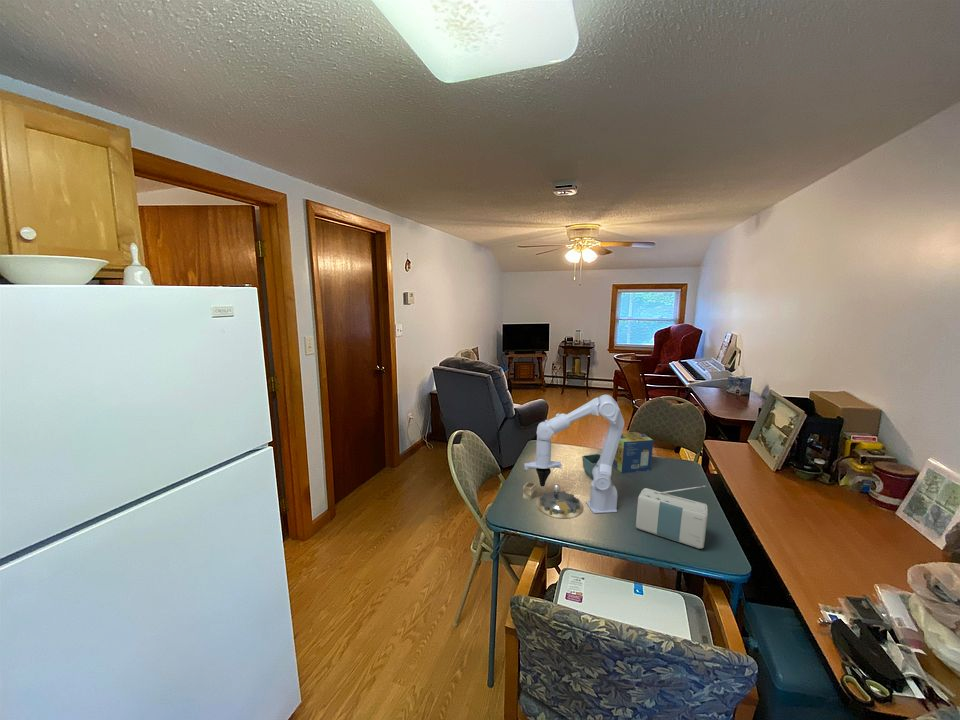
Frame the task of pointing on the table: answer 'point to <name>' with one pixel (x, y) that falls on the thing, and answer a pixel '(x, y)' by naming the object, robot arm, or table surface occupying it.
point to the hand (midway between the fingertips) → (542, 485)
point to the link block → (529, 490)
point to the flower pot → (590, 463)
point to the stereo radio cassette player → (672, 517)
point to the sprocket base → (560, 516)
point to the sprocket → (559, 501)
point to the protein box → (633, 453)
